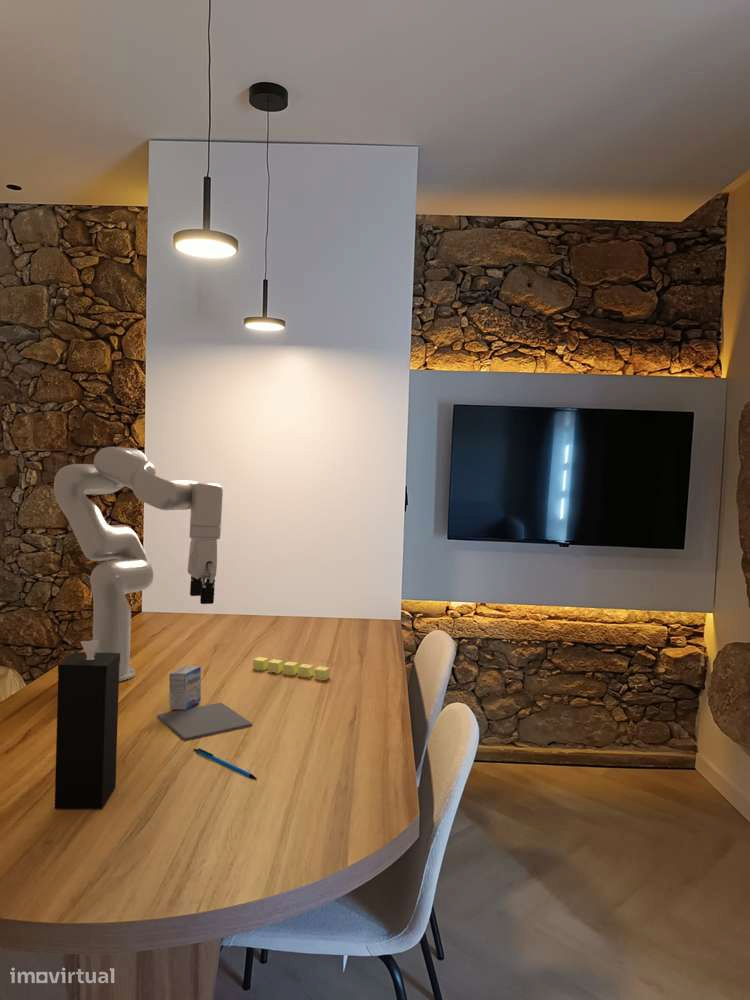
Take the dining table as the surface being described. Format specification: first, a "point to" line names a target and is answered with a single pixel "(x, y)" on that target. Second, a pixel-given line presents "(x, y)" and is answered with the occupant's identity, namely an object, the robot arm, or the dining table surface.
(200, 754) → the pen
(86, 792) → the tissue box
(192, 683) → the medicine box
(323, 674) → the yellow cube line
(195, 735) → the mat
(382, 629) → the dining table surface
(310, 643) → the dining table surface
